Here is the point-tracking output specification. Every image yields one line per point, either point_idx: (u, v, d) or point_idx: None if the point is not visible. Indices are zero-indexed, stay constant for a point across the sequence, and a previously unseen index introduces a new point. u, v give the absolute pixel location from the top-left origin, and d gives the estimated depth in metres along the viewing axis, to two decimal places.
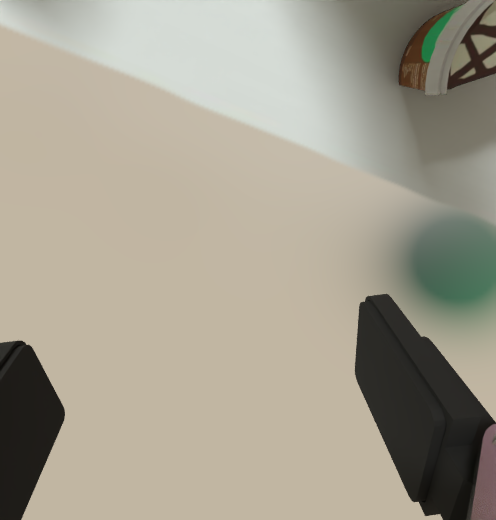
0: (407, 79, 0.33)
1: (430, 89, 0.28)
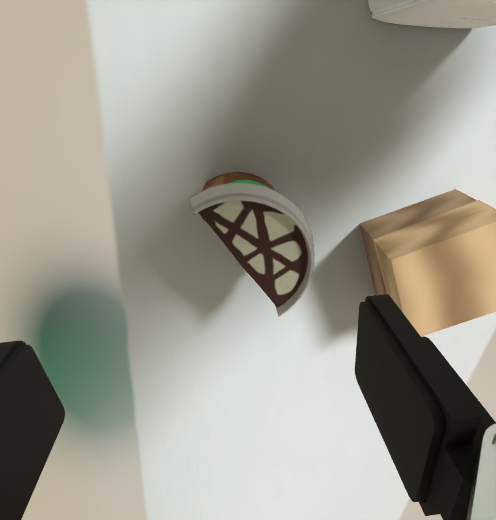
0: (210, 184, 0.31)
1: (195, 199, 0.25)
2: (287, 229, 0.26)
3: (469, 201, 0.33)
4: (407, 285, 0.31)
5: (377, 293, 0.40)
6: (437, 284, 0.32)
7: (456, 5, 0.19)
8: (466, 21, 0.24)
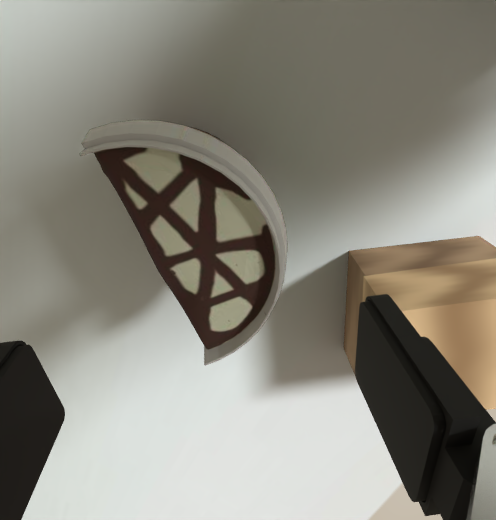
0: None
1: (97, 131, 0.13)
2: (250, 229, 0.15)
3: None
4: None
5: (346, 345, 0.30)
6: None
7: None
8: None
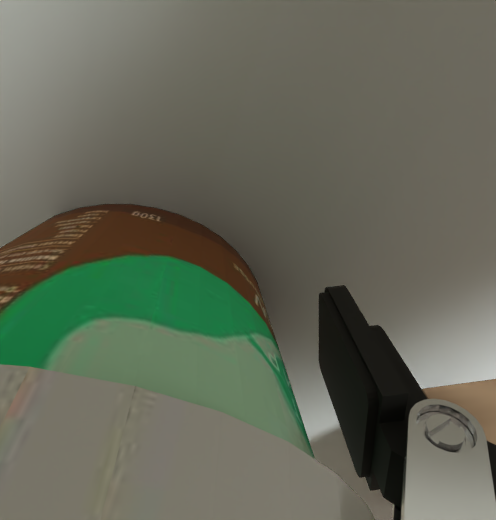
0: (37, 235, 0.09)
1: None
2: None
3: None
4: None
5: None
6: None
7: None
8: None
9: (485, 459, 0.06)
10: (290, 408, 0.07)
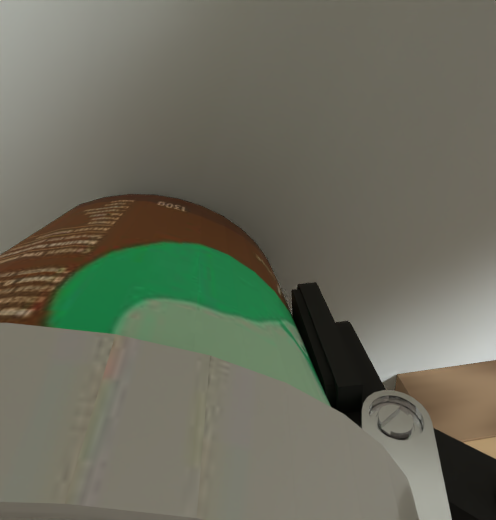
0: (69, 222, 0.09)
1: None
2: None
3: None
4: None
5: None
6: None
7: None
8: None
9: (432, 442, 0.06)
10: (323, 391, 0.07)
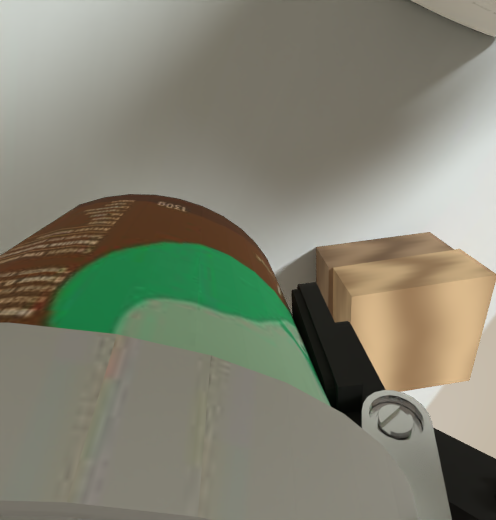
0: (69, 223, 0.09)
1: None
2: None
3: (444, 248, 0.28)
4: (362, 332, 0.25)
5: None
6: (397, 338, 0.25)
7: None
8: None
9: (432, 442, 0.06)
10: (323, 391, 0.07)
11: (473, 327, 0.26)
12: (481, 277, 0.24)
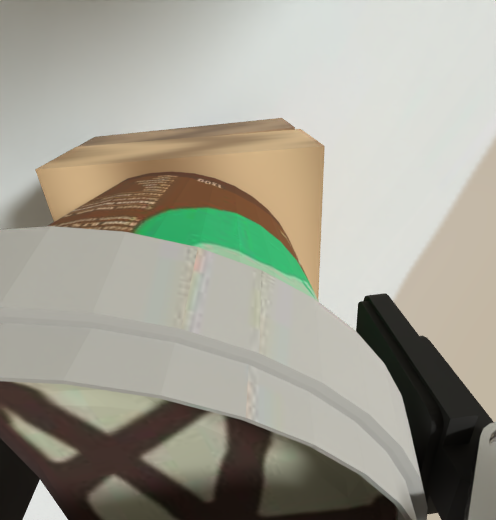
0: (125, 190, 0.10)
1: None
2: (347, 498, 0.06)
3: (281, 126, 0.16)
4: None
5: None
6: None
7: None
8: None
9: None
10: None
11: (302, 257, 0.14)
12: (294, 149, 0.12)
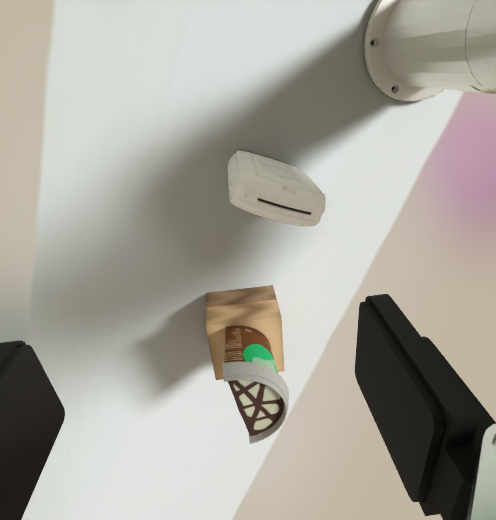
0: (230, 336, 0.44)
1: (226, 367, 0.38)
2: (275, 397, 0.40)
3: (272, 297, 0.50)
4: (215, 343, 0.47)
5: None
6: None
7: None
8: None
9: None
10: (276, 372, 0.42)
11: (277, 342, 0.48)
12: (273, 317, 0.46)
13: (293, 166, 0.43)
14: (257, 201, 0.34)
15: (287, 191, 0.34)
